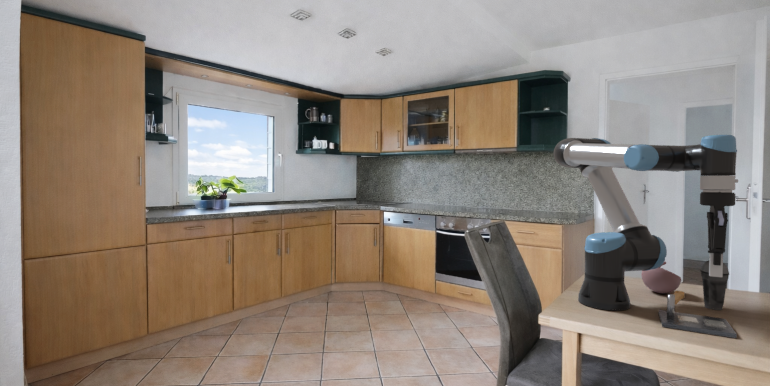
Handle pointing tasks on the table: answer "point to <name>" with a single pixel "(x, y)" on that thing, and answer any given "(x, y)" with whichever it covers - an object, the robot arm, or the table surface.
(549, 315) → the table surface
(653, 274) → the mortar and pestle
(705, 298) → the beverage cup
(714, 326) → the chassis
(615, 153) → the robot arm
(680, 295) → the wooden lever handle
